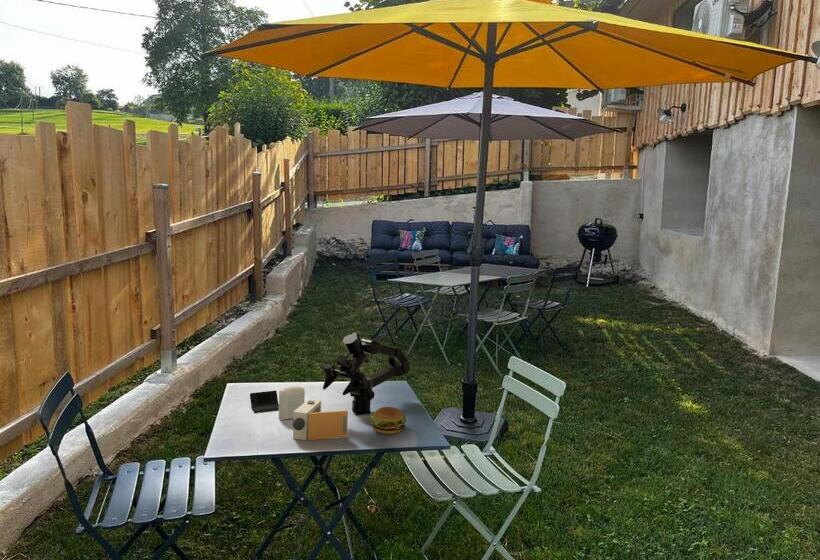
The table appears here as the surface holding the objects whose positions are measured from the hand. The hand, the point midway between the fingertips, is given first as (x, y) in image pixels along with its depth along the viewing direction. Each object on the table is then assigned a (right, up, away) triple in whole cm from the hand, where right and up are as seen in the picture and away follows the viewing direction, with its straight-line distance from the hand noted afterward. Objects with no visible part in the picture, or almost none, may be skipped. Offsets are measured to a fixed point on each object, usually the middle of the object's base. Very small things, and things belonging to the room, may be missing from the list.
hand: (333, 391), depth 232 cm
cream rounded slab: (-17, -12, +9) cm, 23 cm away
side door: (-1, -15, -10) cm, 18 cm away
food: (+20, -15, +2) cm, 25 cm away
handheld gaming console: (-30, -10, +18) cm, 36 cm away
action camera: (-9, -14, -5) cm, 17 cm away
